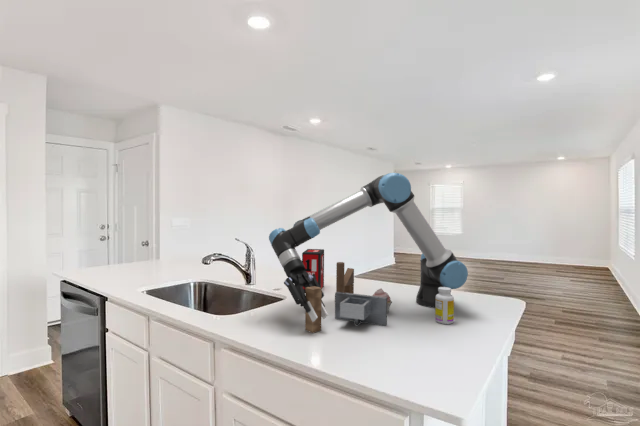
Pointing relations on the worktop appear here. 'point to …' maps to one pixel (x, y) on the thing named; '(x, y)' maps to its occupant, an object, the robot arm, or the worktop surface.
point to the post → (315, 299)
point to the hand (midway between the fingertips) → (320, 318)
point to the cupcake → (383, 294)
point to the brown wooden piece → (344, 279)
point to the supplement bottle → (444, 306)
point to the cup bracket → (361, 308)
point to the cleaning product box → (314, 264)
